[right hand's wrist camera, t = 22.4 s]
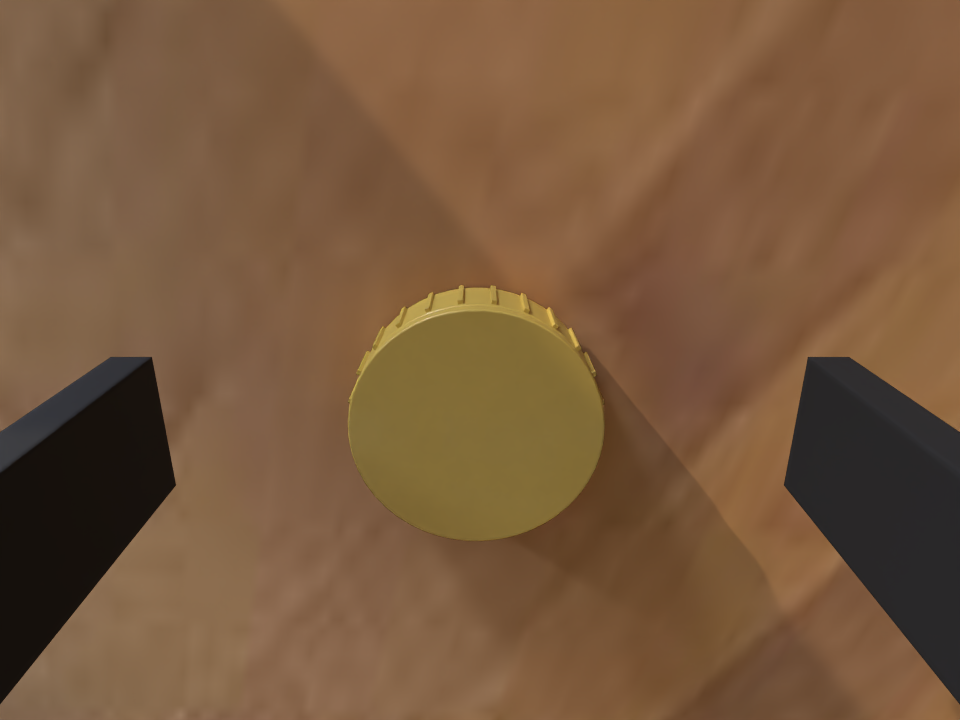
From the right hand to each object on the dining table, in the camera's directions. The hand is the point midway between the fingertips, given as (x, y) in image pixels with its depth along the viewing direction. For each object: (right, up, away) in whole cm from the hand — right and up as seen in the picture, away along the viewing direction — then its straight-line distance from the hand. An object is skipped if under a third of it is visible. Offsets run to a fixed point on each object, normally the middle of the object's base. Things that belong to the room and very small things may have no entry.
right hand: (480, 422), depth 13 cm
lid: (0, 0, +1) cm, 1 cm away
